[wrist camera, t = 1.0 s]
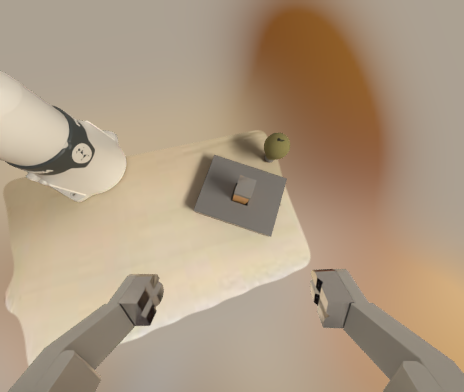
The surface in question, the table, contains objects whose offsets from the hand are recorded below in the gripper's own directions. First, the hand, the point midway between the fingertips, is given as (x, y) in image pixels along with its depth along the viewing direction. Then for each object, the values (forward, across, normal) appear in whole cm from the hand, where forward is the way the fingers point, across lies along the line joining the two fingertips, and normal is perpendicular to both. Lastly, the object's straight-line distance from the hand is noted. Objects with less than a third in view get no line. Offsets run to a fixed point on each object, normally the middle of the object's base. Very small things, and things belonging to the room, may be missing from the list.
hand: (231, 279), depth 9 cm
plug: (+31, +1, +11) cm, 33 cm away
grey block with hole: (+32, +1, +11) cm, 33 cm away
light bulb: (+39, -6, +4) cm, 39 cm away
